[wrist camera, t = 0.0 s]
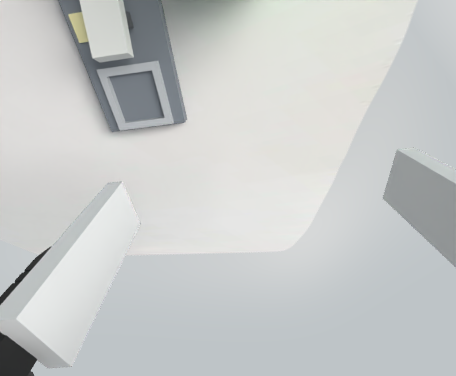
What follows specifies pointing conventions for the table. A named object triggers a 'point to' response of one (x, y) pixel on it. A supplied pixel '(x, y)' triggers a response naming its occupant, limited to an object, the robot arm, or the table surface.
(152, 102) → the panel
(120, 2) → the breaker
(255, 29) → the table surface
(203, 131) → the table surface
